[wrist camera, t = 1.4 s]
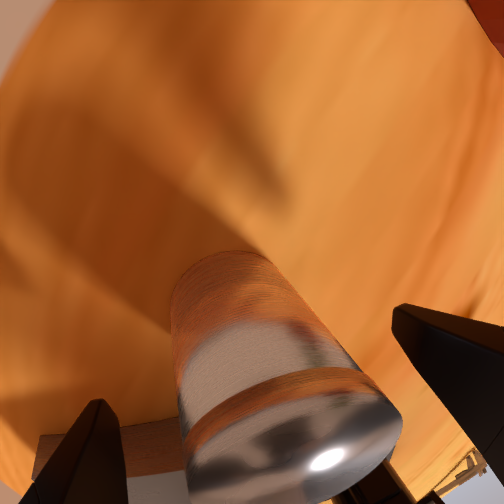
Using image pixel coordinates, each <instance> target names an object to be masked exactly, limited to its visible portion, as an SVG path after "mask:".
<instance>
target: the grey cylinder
mask: <svg viewBox="0 0 504 504" xmlns="http://www.w3.org/2000/svg"><path fill="white" fill-rule="evenodd" d="M170 317H171V334H172V349H173V362H174V373H175V384H176V394H177V403H178V412H179V420H180V428H181V435H182V442H183V448H182V459H183V466H184V472H185V478H186V484H187V490H188V495H189V499H190V501H191V503H192V504H318V503H321V502H323V501H325V500H327V499H329V498H331V497H333V496H335V495H337V494H339V493H341V492H342V491H344V490H346V489H347V488H349V487H351V486H352V485H354V484H355V483H357V482H358V481H360V480H361V479H362V478H363V477H365V476H366V475H367V474H369V473H370V472H371V471H372V470H373V469H374V468H376V467H377V466H378V465H379V464H380V463H381V462H382V461H383V460H384V458H385V457H386V456H387V455H388V454H389V452H390V451H391V450H392V448H393V447H394V445H395V444H396V442H397V440H398V438H399V436H400V434H401V430H402V426H403V420H402V416H401V414H400V413H399V411H398V410H397V409H396V408H395V406H394V405H393V404H392V403H391V402H390V400H389V399H388V398H387V397H386V395H385V394H384V393H383V392H382V391H381V389H380V388H379V387H378V386H377V385H376V383H375V382H374V381H373V380H372V379H371V378H370V377H369V376H368V375H366V374H365V373H363V371H362V370H361V369H360V368H359V367H358V365H357V364H356V363H355V362H354V360H353V359H352V358H351V357H350V356H349V354H348V353H347V352H346V351H345V349H344V348H343V347H342V346H341V345H340V343H339V342H338V341H337V340H336V339H335V337H334V336H333V335H332V334H331V332H330V331H329V330H328V329H327V328H326V326H325V325H324V324H323V323H322V322H321V320H320V319H319V318H318V317H317V316H316V314H315V313H314V312H313V311H312V309H311V308H310V307H309V306H308V305H307V303H306V302H305V301H304V300H303V299H302V297H301V296H300V295H299V294H298V293H297V291H296V290H295V289H294V288H293V287H292V285H291V284H290V283H289V282H288V281H287V279H286V278H285V277H284V276H283V275H282V273H281V272H280V271H279V270H278V269H277V267H276V266H274V265H273V264H272V263H271V262H270V261H268V260H267V259H265V258H263V257H261V256H259V255H256V254H253V253H249V252H243V251H229V252H222V253H217V254H214V255H211V256H209V257H207V258H204V259H202V260H201V261H199V262H197V263H196V264H194V265H193V266H192V267H191V268H190V269H188V270H187V271H186V272H185V274H184V275H183V276H182V277H181V278H180V280H179V281H178V283H177V285H176V287H175V289H174V291H173V294H172V297H171V303H170Z"/></svg>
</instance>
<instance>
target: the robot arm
mask: <svg viewBox="0 0 504 504" xmlns="http://www.w3.org/2000/svg"><path fill="white" fill-rule="evenodd" d="M391 329H392V333H393V335H394V337H395V338H396V340H397V341H398V343H399V344H400V346H401V347H402V349H403V351H404V352H405V354H406V355H407V357H408V358H409V360H410V361H411V363H412V364H413V366H414V367H415V369H416V370H417V371H418V373H419V374H420V375H421V376H422V378H423V379H424V380H425V381H426V383H427V384H428V385H429V386H430V388H431V389H432V390H433V392H434V393H435V394H436V395H437V397H438V398H439V399H440V400H441V402H442V403H443V404H444V406H445V407H446V408H447V409H448V411H449V412H450V413H451V415H452V416H453V417H454V419H455V420H456V421H457V422H458V424H459V425H460V426H461V428H462V429H463V430H464V432H465V433H466V434H467V436H468V437H469V438H470V440H471V441H472V443H473V444H474V445H475V447H476V448H477V449H478V451H479V452H480V454H481V455H482V457H483V458H484V459H485V461H486V462H487V464H488V465H489V466H490V468H491V469H492V471H493V472H494V473H495V475H496V476H497V478H498V479H499V481H500V482H501V484H502V485H503V487H504V327H503V326H501V327H500V326H498V325H494V324H490V323H486V322H481V321H477V320H473V319H469V318H464V317H460V316H456V315H452V314H448V313H444V312H440V311H435V310H431V309H427V308H423V307H419V306H415V305H411V304H407V303H403V304H401V305H399V306H397V307H395V308H394V309H393V315H392V327H391ZM394 448H395V445H394V447H393V448H392V450H391V451H390V452H389V454H388V455H387V456H386V457H385V458H384V460H383V461H382V462H381V463H380V464H379V465H378V466H377V467H376V468H374V469H373V470H372V471H371V472H370V473H369V474H367V475H366V476H365V477H363V478H362V479H361V480H360V481H358V482H357V483H355V484H354V485H352V486H351V487H349V488H347V489H346V490H344V491H342V492H341V493H339V494H337V495H335V496H333V497H331V498H329V499H331V501H332V503H333V504H445V503H444V502H443V501H442V500H441V498H440V497H439V496H438V495H437V494H436V492H435V491H434V490H433V491H431V492H430V493H429V494H427V496H426V497H425V498H423V499H422V500H420V501H419V502H417V501H416V500H415V498H414V497H413V495H412V494H411V493H410V491H409V490H408V488H407V487H406V485H405V484H404V483H403V481H402V480H401V478H400V477H399V475H398V474H397V473H396V471H395V470H394V468H393V467H392V465H391V464H390V463H389V461H390V459H391V456H392V453H393V451H394ZM329 499H327V500H329ZM327 500H325V501H327ZM18 504H129V501H128V490H127V478H126V465H125V459H124V453H123V447H122V440H121V433H120V426H119V420H118V418H117V416H116V414H115V413H114V411H113V410H112V409H111V407H110V406H109V405H108V403H107V402H106V401H105V400H104V399H95V400H91V401H90V402H89V403H88V405H87V406H86V407H85V409H84V410H83V411H82V413H81V414H80V416H79V417H78V418H77V420H76V421H75V423H74V424H73V425H72V427H71V428H70V430H69V431H68V432H67V434H66V435H65V437H64V438H63V439H62V441H61V442H60V444H59V445H58V446H57V448H56V449H55V451H54V452H53V454H52V455H51V457H50V458H49V459H48V461H47V462H46V464H45V465H44V467H43V468H42V470H41V471H40V473H39V474H38V476H37V477H36V479H35V480H34V483H32V484H31V486H30V487H29V489H28V490H27V492H26V493H25V495H24V496H23V498H22V499H21V501H20V502H19V503H18Z"/></svg>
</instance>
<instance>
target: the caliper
mask: <svg viewBox="0 0 504 504" xmlns="http://www.w3.org/2000/svg"><path fill="white" fill-rule="evenodd" d="M473 454H474V456H475V459H476V461H477V463H478V464H477V465H476V466H475V465H474V462H473V460H472V458H471V456H470V455H469V456H468V457H467V458H466V459H467V466H468V470H464V471H462V472H460V473H459V474H457V475H456V476H455V477H456V480H454V481H453V482H451V483H449V484H448V485H446V486H445V487H443V488H441V489H440V490H438V491H437V492H436V494H437V495H438V496H440V495H442V494H444V493H445V492H447V491H449V490H450V489H452V488H453V487H455V486H456V485H458V484H459V485H461V484H463V483H464V482H466V481H467V480H469V479H470V478H472V477H473V476H475V475H476V474H478V473H479V476H480V477H481V476H482V474H483V473H484V474H485V473H486V472H487V471H486V469H485V467H486V466H487V464H486V462H485V459H484V458H483V457H482V455H481V454H480V453H479V452H478V451H477V450H475V451H473Z"/></svg>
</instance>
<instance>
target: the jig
mask: <svg viewBox="0 0 504 504" xmlns="http://www.w3.org/2000/svg"><path fill="white" fill-rule="evenodd" d="M120 433H121V440H122V447H123V453H124V459H125V465H126V478H127V490H128V501H129V504H192V503H191V501H190V499H189V495H188V490H187V484H186V478H185V472H184V466H183V459H182V448H183V442H182V435H181V428H180V420H179V417H176V418H171V419H167V420H162V421H157V422H152V423H146V424H141V425H135V426H129V427H123V428H120ZM65 435H66V434H61V435H45V436H40V439H39V444H38V448H37V453H36V457H35V462H34V467H33V473H32V478H31V479H32V480H33V481H34V480H35V479H36V477H37V476H38V474H39V473H40V471H41V470H42V468H43V467H44V465H45V464H46V462H47V461H48V459H49V458H50V457H51V455H52V454H53V452H54V451H55V449H56V448H57V446H58V445H59V444H60V442H61V441H62V439H63V438H64V437H65Z"/></svg>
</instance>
